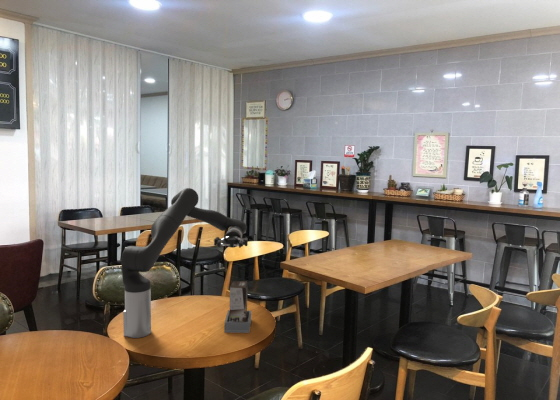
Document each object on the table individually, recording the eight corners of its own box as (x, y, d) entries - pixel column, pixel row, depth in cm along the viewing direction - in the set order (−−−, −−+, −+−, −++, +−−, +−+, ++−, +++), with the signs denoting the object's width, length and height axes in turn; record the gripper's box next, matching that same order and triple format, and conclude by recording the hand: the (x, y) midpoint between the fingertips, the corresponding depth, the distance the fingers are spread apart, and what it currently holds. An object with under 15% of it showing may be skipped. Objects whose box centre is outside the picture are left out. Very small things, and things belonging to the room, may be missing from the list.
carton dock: (224, 332, 168) (224, 322, 167) (227, 319, 180) (227, 310, 180) (249, 332, 168) (249, 322, 168) (251, 320, 181) (251, 310, 180)
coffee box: (245, 328, 170) (246, 287, 168) (228, 327, 170) (229, 287, 168) (247, 319, 179) (248, 280, 177) (231, 318, 179) (232, 280, 177)
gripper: (217, 228, 198) (212, 236, 182) (249, 229, 198) (246, 236, 182) (217, 245, 199) (212, 253, 183) (249, 245, 199) (246, 254, 183)
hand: (229, 245), depth 183 cm, fingers open, 8 cm apart
